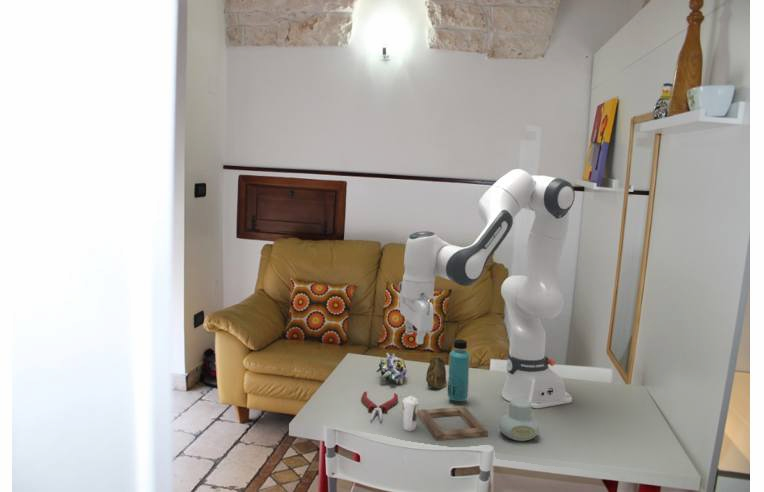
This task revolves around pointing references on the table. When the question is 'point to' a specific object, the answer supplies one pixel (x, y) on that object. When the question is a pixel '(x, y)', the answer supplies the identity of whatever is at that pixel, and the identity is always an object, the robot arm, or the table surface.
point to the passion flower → (394, 368)
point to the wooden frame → (440, 434)
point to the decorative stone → (436, 373)
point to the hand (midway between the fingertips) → (414, 338)
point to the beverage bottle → (458, 372)
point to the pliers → (382, 408)
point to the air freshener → (519, 421)
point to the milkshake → (410, 412)
